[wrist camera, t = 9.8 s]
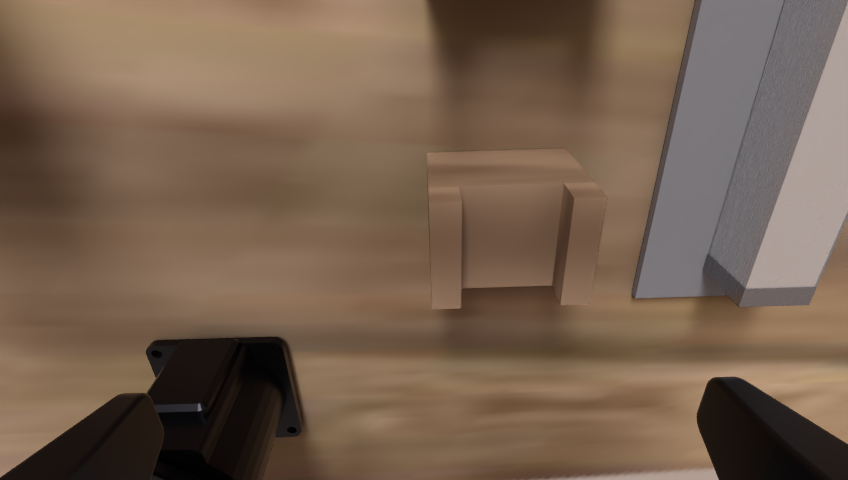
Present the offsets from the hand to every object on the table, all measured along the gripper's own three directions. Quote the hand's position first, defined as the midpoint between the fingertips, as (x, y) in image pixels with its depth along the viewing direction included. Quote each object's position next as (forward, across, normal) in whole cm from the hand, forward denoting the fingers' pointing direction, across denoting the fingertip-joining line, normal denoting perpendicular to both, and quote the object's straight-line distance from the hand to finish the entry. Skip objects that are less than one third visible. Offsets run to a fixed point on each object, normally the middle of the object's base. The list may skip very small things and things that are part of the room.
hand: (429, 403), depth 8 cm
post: (+12, -3, +2) cm, 13 cm away
